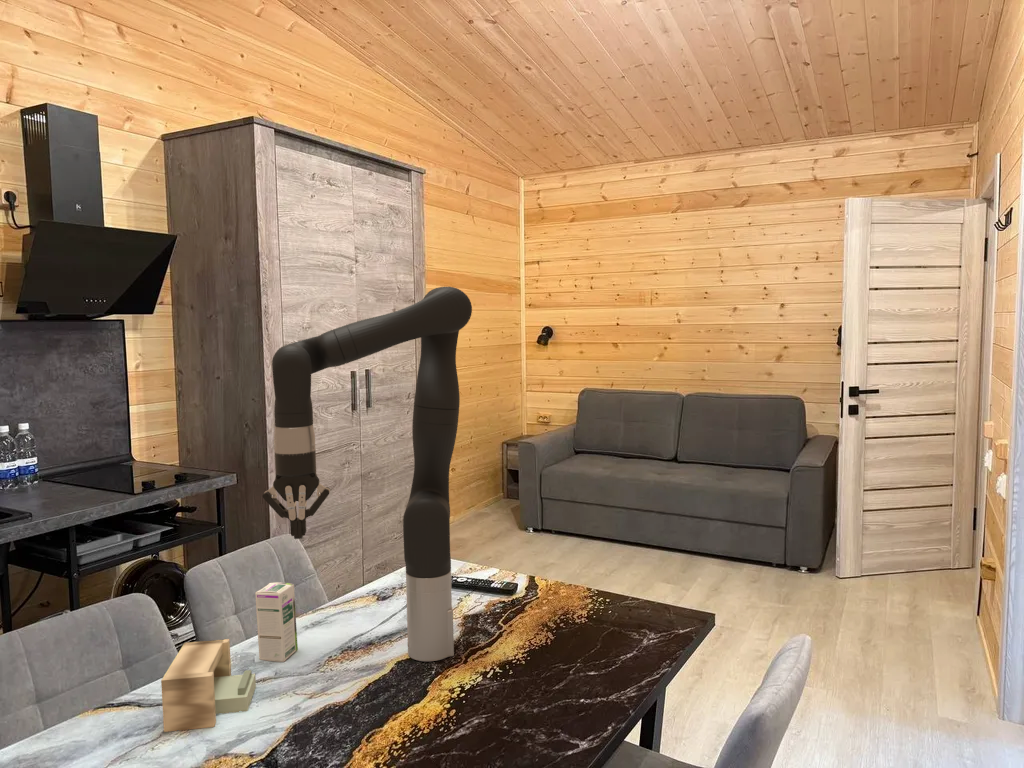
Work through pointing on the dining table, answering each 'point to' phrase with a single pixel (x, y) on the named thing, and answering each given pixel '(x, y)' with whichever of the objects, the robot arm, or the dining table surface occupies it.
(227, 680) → the panel
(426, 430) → the robot arm
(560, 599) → the dining table surface
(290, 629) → the syrup box
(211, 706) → the wooden c-channel bracket
